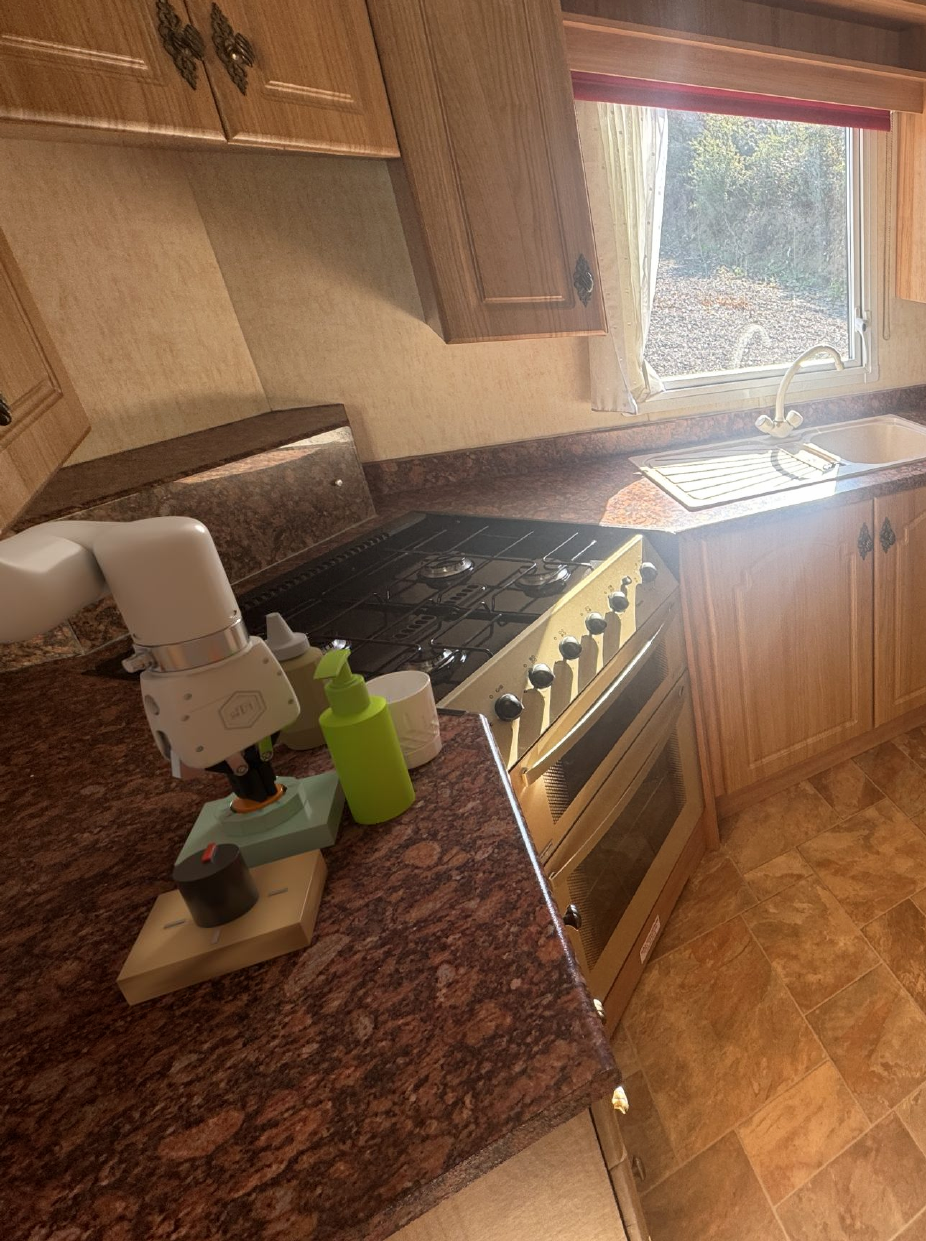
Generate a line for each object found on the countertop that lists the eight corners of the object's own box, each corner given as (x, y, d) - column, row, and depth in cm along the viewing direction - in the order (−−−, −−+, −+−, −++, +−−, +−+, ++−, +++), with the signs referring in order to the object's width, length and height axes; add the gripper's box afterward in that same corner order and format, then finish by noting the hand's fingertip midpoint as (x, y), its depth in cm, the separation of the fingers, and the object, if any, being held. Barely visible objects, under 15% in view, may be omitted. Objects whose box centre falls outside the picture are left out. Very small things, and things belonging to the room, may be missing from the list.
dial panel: (129, 1006, 60) (114, 980, 59) (170, 918, 68) (158, 893, 67) (309, 945, 66) (299, 920, 65) (328, 870, 74) (319, 846, 73)
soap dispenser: (344, 837, 78) (286, 679, 71) (360, 796, 84) (308, 646, 77) (408, 822, 80) (358, 667, 73) (419, 783, 86) (374, 636, 79)
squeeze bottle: (364, 714, 99) (326, 596, 92) (341, 750, 92) (297, 625, 85) (293, 725, 96) (248, 604, 90) (264, 762, 89) (213, 634, 83)
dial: (254, 914, 65) (232, 865, 63) (188, 936, 63) (163, 886, 61) (263, 881, 69) (243, 834, 67) (202, 900, 67) (179, 852, 64)
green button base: (184, 888, 72) (165, 849, 70) (214, 824, 80) (198, 787, 78) (334, 844, 77) (320, 807, 75) (348, 789, 85) (336, 754, 83)
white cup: (431, 772, 88) (411, 703, 84) (360, 778, 87) (336, 708, 83) (458, 733, 95) (440, 668, 92) (393, 738, 94) (372, 672, 90)
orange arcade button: (234, 829, 75) (227, 813, 74) (244, 805, 78) (238, 790, 77) (283, 816, 77) (277, 800, 76) (291, 793, 80) (285, 778, 79)
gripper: (126, 691, 62) (204, 854, 69) (305, 615, 75) (355, 758, 82) (68, 678, 64) (149, 838, 71) (252, 606, 77) (305, 746, 84)
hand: (259, 795), depth 76 cm, fingers closed
